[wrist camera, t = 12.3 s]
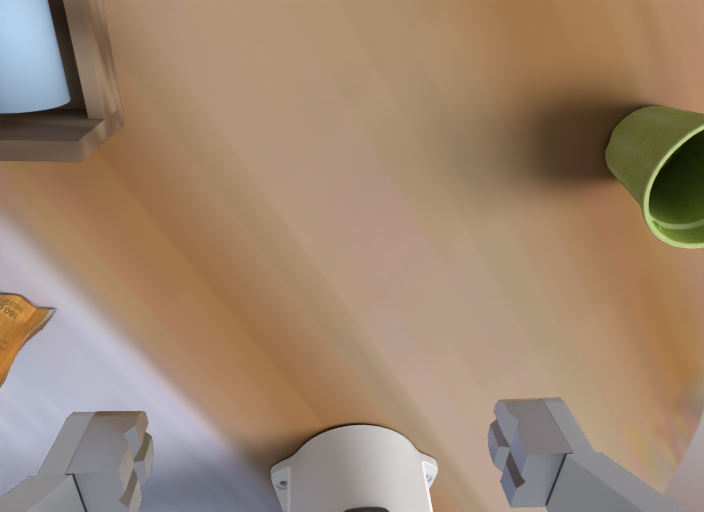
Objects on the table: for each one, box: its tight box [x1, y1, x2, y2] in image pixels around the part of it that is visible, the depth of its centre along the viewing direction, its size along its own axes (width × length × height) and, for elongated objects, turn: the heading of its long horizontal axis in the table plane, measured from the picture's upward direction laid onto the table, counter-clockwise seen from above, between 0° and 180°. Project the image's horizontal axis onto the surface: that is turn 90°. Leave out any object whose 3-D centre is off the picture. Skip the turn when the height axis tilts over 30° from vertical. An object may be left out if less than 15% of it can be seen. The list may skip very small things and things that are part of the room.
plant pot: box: [605, 106, 704, 248], centre depth 36 cm, size 9×9×9 cm
